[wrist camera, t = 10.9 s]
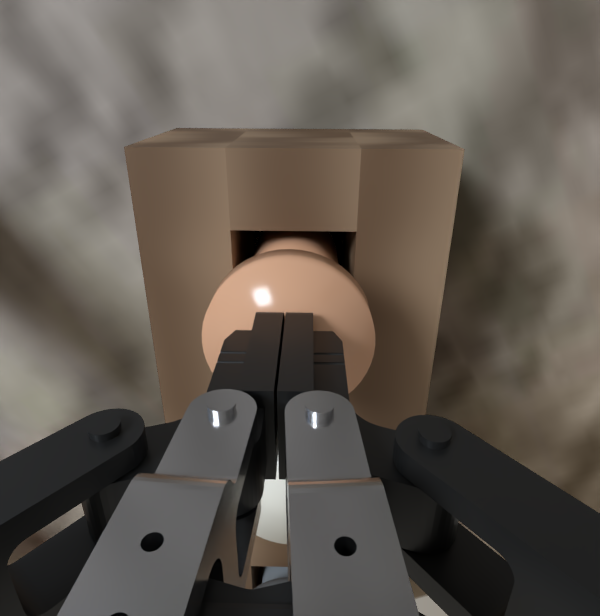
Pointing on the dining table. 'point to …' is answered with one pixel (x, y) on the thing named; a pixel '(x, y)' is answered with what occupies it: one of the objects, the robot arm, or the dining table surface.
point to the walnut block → (297, 217)
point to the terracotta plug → (294, 296)
